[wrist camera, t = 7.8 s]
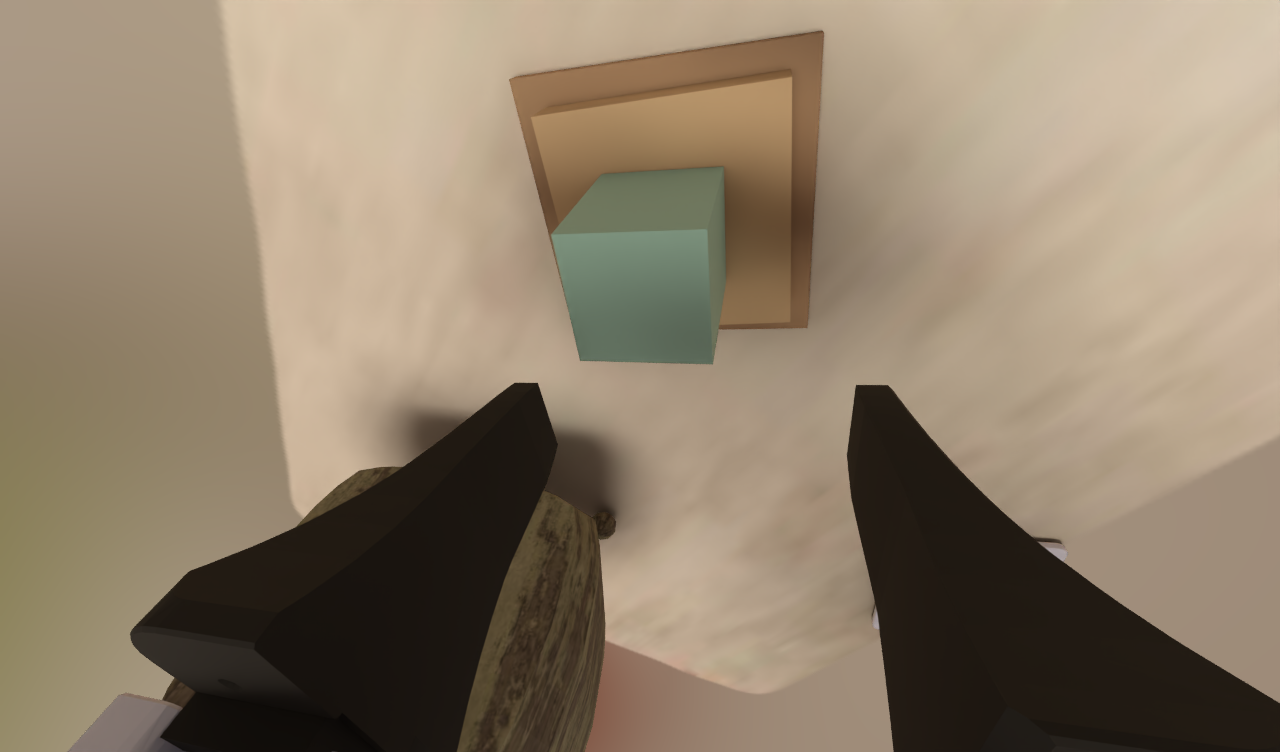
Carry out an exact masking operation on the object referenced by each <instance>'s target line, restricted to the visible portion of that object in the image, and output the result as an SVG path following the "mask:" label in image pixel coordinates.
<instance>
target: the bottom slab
mask: <svg viewBox="0 0 1280 752" xmlns="http://www.w3.org/2000/svg"><path fill="white" fill-rule="evenodd" d="M823 40H824V32H823V31H818V32H811V33H804V34H798V35H791V36H784V37H778V38H771V39H764V40H758V41H751V42H744V43H738V44H731V45H724V46H718V47H711V48H704V49H698V50H691V51H684V52H678V53H671V54H664V55H658V56H651V57H644V58H638V59H631V60H624V61H618V62H611V63H604V64H598V65H591V66H584V67H578V68H571V69H564V70H558V71H551V72H544V73H538V74H531V75H524V76H518V77H514V78H512V79H509V81H510V85H511V89H512V92H513V96H514V100H515V104H516V108H517V112H518V116H519V120H520V124H521V128H522V131H523V135H524V139H525V143H526V147H527V151H528V155H529V159H530V163H531V166H532V170H533V174H534V178H535V182H536V186H537V190H538V194H539V198H540V201H541V205H542V209H543V213H544V217H545V221H546V225H547V229H548V233H549V237H550V240H551V244H552V248H553V252H554V256H555V260H556V264H557V268H558V272H559V275H560V271H559V267H558V263H557V258H556V254H555V250H554V245H553V241H552V237H551V234H552V233H553V232H554V230H555V229H556V228H557V227H558V226H559V222H558V218H557V214H556V211H555V207H554V203H553V199H552V196H551V192H550V188H549V184H548V180H547V177H546V173H545V169H544V165H543V162H542V158H541V154H540V150H539V146H538V143H537V139H536V135H535V131H534V127H533V124H532V120H531V116H533V115H535V114H536V113H538V112H540V111H541V110H543V109H545V108H546V107H551V106H558V105H564V104H571V103H577V102H583V101H590V100H596V99H602V98H609V97H615V96H622V95H628V94H634V93H641V92H647V91H653V90H660V89H666V88H673V87H679V86H685V85H692V84H698V83H704V82H711V81H717V80H724V79H730V78H736V77H743V76H749V75H755V74H762V73H768V72H774V71H781V70H787V69H791V73H792V168H791V300H790V322H784V323H756V324H728V325H719V329H769V328H807V326H808V309H809V291H810V273H811V255H812V237H813V219H814V201H815V183H816V165H817V147H818V129H819V111H820V94H821V76H822V58H823ZM560 279H561V276H560ZM561 283H562V280H561ZM562 287H563V284H562ZM563 291H564V289H563ZM564 295H565V293H564ZM565 299H566V297H565ZM566 303H567V302H566ZM567 307H568V306H567Z"/></svg>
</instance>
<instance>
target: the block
mask: <svg viewBox="0 0 1280 752" xmlns="http://www.w3.org/2000/svg"><path fill="white" fill-rule="evenodd" d="M551 237H552V241H553V245H554V250H555V254H556V258H557V263H558V267H559V271H560V276H561V280H562V284H563V289H564V293H565V297H566V302H567V306H568V310H569V315H570V319H571V323H572V327H573V332H574V336H575V340H576V345H577V349H578V353H579V358H580V361H610V362H647V363H684V364H713V360H714V354H715V348H716V341H717V335H718V329H719V323H720V317H721V310H722V304H723V298H724V292H725V286H726V249H725V197H724V166H722V167H706V168H690V169H674V170H658V171H642V172H625V173H609V174H601V175H600V177H599V178H598V179H597V180H596V181H595V183H594V184H593V185H592V186H591V187H590V189H589V190H588V191H587V192H586V193H585V195H584V196H583V197H582V198H581V199H580V201H579V202H578V203H577V204H576V205H575V206H574V208H573V209H572V210H571V211H570V212H569V214H568V215H567V216H566V217H565V218H564V220H563V221H562V222H561V223H560V224H559V226H558V227H557V228H556V229H555V230H554V232H553V233H552V234H551Z"/></svg>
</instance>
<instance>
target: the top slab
mask: <svg viewBox="0 0 1280 752" xmlns="http://www.w3.org/2000/svg"><path fill="white" fill-rule="evenodd" d="M531 120H532V124H533V127H534V131H535V135H536V139H537V143H538V146H539V150H540V154H541V158H542V162H543V165H544V169H545V173H546V177H547V180H548V184H549V188H550V192H551V196H552V199H553V203H554V207H555V211H556V214H557V218H558V222H559V224H560V223H561V222H562V221H563V220H564V218H565V217H566V216H567V215H568V214H569V212H570V211H571V210H572V209H573V208H574V206H575V205H576V204H577V203H578V202H579V201H580V199H581V198H582V197H583V196H584V195H585V193H586V192H587V191H588V190H589V189H590V187H591V186H592V185H593V184H594V183H595V181H596V180H597V179H598V178H599V177H600V175H601V174H609V173H625V172H642V171H658V170H674V169H690V168H706V167H722V166H724V197H725V249H726V286H725V292H724V298H723V304H722V310H721V317H720V323H719V325H728V324H756V323H784V322H790V300H791V168H792V73H791V69H787V70H781V71H774V72H768V73H762V74H755V75H749V76H743V77H736V78H730V79H724V80H717V81H711V82H704V83H698V84H692V85H685V86H679V87H673V88H666V89H660V90H653V91H647V92H641V93H634V94H628V95H622V96H615V97H609V98H602V99H596V100H590V101H583V102H577V103H571V104H564V105H558V106H551V107H546V108H545V109H543V110H541V111H540V112H538V113H536V114H535V115H533V116H531Z"/></svg>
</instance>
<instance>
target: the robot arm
mask: <svg viewBox="0 0 1280 752" xmlns="http://www.w3.org/2000/svg"><path fill="white" fill-rule="evenodd" d="M557 445H558V444H557V441H556V438H555V435H554V432H553V429H552V425H551V422H550V419H549V416H548V413H547V410H546V407H545V404H544V401H543V398H542V395H541V392H540V388H539V385H538V383H514V384H513V385H511V386H510V387H508V388H507V389H506V390H504V391H503V392H502V393H500V394H499V395H498V396H496V397H495V398H494V399H493V400H491V401H490V402H489V403H487V404H486V405H485V406H484V407H482V408H481V409H480V410H479V411H477V412H476V413H475V414H474V415H472V416H471V417H470V418H469V419H467V420H466V421H465V422H464V423H462V424H461V425H460V426H458V427H457V428H456V429H455V430H453V431H452V432H451V433H450V434H448V435H447V436H446V437H444V438H443V439H441V440H440V441H439V442H437V443H436V444H435V445H433V446H432V447H430V448H429V449H428V450H426V451H425V452H424V453H422V454H421V455H420V456H418V457H417V458H415V459H414V460H413V461H411V462H410V463H408V464H407V465H405V466H404V467H402V468H401V469H399V470H398V471H396V472H395V473H393V474H392V475H390V476H389V477H387V478H385V479H384V480H382V481H380V482H379V483H377V484H376V485H374V486H372V487H371V488H369V489H367V490H366V491H364V492H362V493H361V494H359V495H357V496H355V497H353V498H351V499H349V500H348V501H346V502H344V503H342V504H340V505H338V506H337V507H335V508H333V509H331V510H329V511H327V512H325V513H324V514H322V515H320V516H318V517H316V518H314V519H312V520H310V521H308V522H306V523H304V524H302V525H299V526H297V527H295V528H293V529H291V530H289V531H287V532H285V533H282V534H280V535H278V536H276V537H273V538H271V539H269V540H267V541H264V542H262V543H260V544H257V545H255V546H253V547H251V548H248V549H245V550H243V551H240V552H238V553H235V554H233V555H230V556H228V557H225V558H222V559H220V560H217V561H215V562H213V563H210V564H207V565H205V566H202V567H199V568H197V569H194V570H191V571H189V572H188V573H187V574H186V575H185V576H184V577H183V578H182V579H181V580H180V581H179V582H178V583H177V584H176V585H175V586H174V587H173V588H172V589H171V590H170V591H169V592H168V593H167V594H166V595H165V596H164V597H163V598H162V599H161V600H160V601H159V602H158V603H157V604H156V605H155V606H154V607H153V609H152V610H151V611H150V612H149V613H148V614H147V615H146V616H145V617H144V618H143V619H142V620H141V621H140V622H139V623H138V624H137V625H136V626H135V627H134V628H133V629H132V631H131V633H130V635H131V641H132V643H133V645H134V646H135V647H136V649H137V650H138V651H139V652H140V653H141V654H143V655H144V656H145V657H146V658H148V659H149V660H151V661H152V662H153V663H155V664H156V665H157V666H159V667H160V668H162V669H163V670H165V671H166V672H167V673H169V674H170V675H172V676H173V677H175V678H176V679H177V680H179V681H180V682H182V683H183V684H185V685H186V686H188V687H189V688H190V689H192V690H193V691H195V692H196V693H195V694H194V695H193V696H192V698H191V699H190V700H189V701H188V703H187V704H186V705H185V706H184V708H182V707H180V706H178V705H175V704H173V703H170V702H167V701H163V700H158V699H154V698H149V697H144V696H139V695H134V694H129V693H124V694H121V695H118V696H117V698H116V699H115V700H114V701H113V702H112V703H111V704H110V705H109V706H108V707H107V708H106V710H105V711H104V712H103V713H102V714H101V715H100V716H99V717H98V718H97V720H96V721H95V722H94V723H93V724H92V725H91V726H90V727H89V728H88V729H87V730H86V732H85V733H84V734H83V735H82V736H81V737H80V738H79V739H78V740H77V742H76V743H75V744H74V745H73V746H72V747H71V748H70V749H69V750H68V752H457V749H458V745H459V741H460V736H461V732H462V728H463V723H464V719H465V715H466V710H467V706H468V702H469V698H470V694H471V691H472V687H473V683H474V679H475V676H476V672H477V668H478V664H479V660H480V657H481V653H482V650H483V647H484V643H485V640H486V637H487V633H488V630H489V626H490V623H491V620H492V616H493V613H494V610H495V607H496V604H497V601H498V598H499V595H500V592H501V589H502V586H503V583H504V580H505V577H506V575H507V572H508V570H509V567H510V565H511V562H512V560H513V557H514V555H515V553H516V551H517V548H518V546H519V544H520V542H521V540H522V537H523V535H524V533H525V531H526V528H527V526H528V524H529V522H530V520H531V517H532V515H533V513H534V511H535V508H536V506H537V504H538V502H539V499H540V497H541V495H542V492H543V490H544V488H545V485H546V483H547V480H548V477H549V474H550V471H551V467H552V464H553V460H554V456H555V453H556V449H557ZM847 460H848V471H849V481H850V490H851V499H852V503H853V508H854V512H855V516H856V521H857V525H858V530H859V534H860V538H861V543H862V547H863V551H864V555H865V560H866V564H867V568H868V573H869V577H870V581H871V586H872V590H873V594H874V599H875V609H874V613H873V617H872V624H873V627H874V628H876V629H878V630H880V637H881V645H882V653H883V660H884V669H885V676H886V686H887V695H888V703H889V712H890V721H891V730H892V739H893V750H894V752H1280V703H1278V702H1277V701H1275V700H1273V699H1272V698H1270V697H1268V696H1267V695H1265V694H1263V693H1262V692H1260V691H1259V690H1257V689H1255V688H1254V687H1252V686H1250V685H1249V684H1247V683H1245V682H1244V681H1242V680H1240V679H1239V678H1237V677H1235V676H1234V675H1232V674H1230V673H1228V672H1227V671H1225V670H1224V669H1222V668H1220V667H1219V666H1217V665H1215V664H1214V663H1212V662H1210V661H1209V660H1207V659H1205V658H1204V657H1202V656H1200V655H1199V654H1197V653H1195V652H1194V651H1192V650H1190V649H1189V648H1187V647H1185V646H1184V645H1182V644H1181V643H1179V642H1178V641H1176V640H1174V639H1173V638H1171V637H1170V636H1168V635H1167V634H1165V633H1164V632H1162V631H1161V630H1159V629H1158V628H1156V627H1155V626H1153V625H1152V624H1150V623H1149V622H1147V621H1146V620H1144V619H1143V618H1141V617H1140V616H1138V615H1137V614H1135V613H1134V612H1132V611H1131V610H1129V609H1127V608H1126V607H1124V606H1123V605H1122V604H1120V603H1119V602H1118V601H1116V600H1114V599H1113V598H1112V597H1110V596H1109V595H1108V594H1106V593H1104V592H1103V591H1102V590H1100V589H1099V588H1098V587H1096V586H1095V585H1094V584H1092V583H1091V582H1090V581H1088V580H1087V579H1086V578H1084V577H1083V576H1082V575H1080V574H1079V573H1078V572H1076V571H1075V570H1073V569H1072V568H1071V567H1069V566H1068V565H1067V564H1065V563H1064V561H1065V559H1066V557H1067V555H1068V552H1067V550H1066V548H1065V546H1064V545H1062V544H1059V543H1050V542H1037V541H1036V540H1035V539H1033V538H1032V537H1031V536H1030V535H1029V534H1027V533H1026V532H1025V531H1024V530H1023V529H1022V528H1020V527H1019V526H1018V525H1017V524H1016V523H1015V522H1014V521H1012V520H1011V519H1010V518H1009V517H1008V516H1007V515H1006V514H1004V513H1003V512H1002V511H1001V510H1000V509H999V508H998V507H997V506H996V505H995V504H994V503H993V502H992V501H990V500H989V499H988V498H987V497H986V496H985V495H984V494H983V493H982V492H981V491H980V490H979V489H978V488H977V487H976V486H975V485H974V484H973V483H972V482H971V481H970V480H969V479H968V478H967V477H966V476H965V475H964V474H963V473H962V472H961V471H960V470H959V469H958V467H957V466H956V465H955V464H954V463H953V462H952V461H951V460H950V459H949V458H948V457H947V455H946V454H945V453H944V452H943V451H942V450H941V449H940V448H939V447H938V445H937V444H936V443H935V442H934V441H933V440H932V439H931V437H930V436H929V435H928V434H927V433H926V432H925V430H924V429H923V428H922V427H921V426H920V424H919V423H918V422H917V421H916V419H915V418H914V417H913V416H912V414H911V413H910V412H909V411H908V409H907V408H906V407H905V406H904V404H903V403H902V402H901V400H900V399H899V398H898V396H897V395H896V394H895V392H894V391H893V390H892V389H891V388H890V387H889V386H888V385H856V389H855V397H854V405H853V413H852V420H851V428H850V436H849V444H848V452H847Z"/></svg>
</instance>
